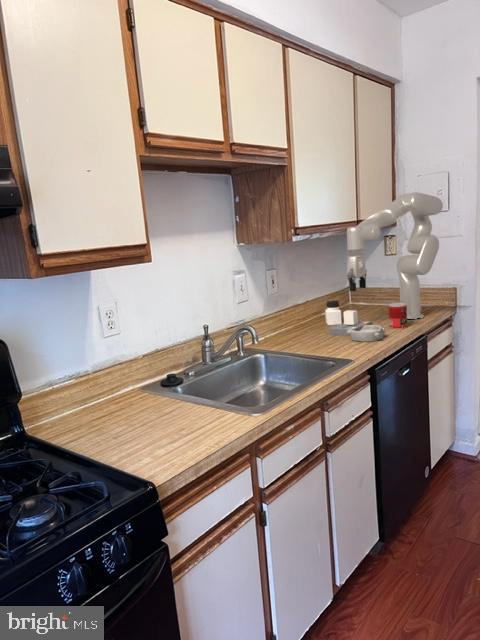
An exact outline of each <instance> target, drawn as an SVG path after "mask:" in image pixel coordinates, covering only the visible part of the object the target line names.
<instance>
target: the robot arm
mask: <svg viewBox="0 0 480 640" xmlns="http://www.w3.org/2000/svg"><path fill="white" fill-rule="evenodd" d="M443 204H444V203H443V201H442V200H441V199H440V198H439V197H438V196H435V195H431V194H428V193H427V194H426V193H422V192H410V193H409V192H408V193H404V194H402V195H399V196H398V197H396V199H394V200H393V201H392V202H391V203H389V204H388V205H386V206H385V208H383V209H381V210H379V211H378V212H376V213H374V214H372V215H370V216H368V217H367V218H365V219H363V220H362V221H361V222H359V224H358V225H356V226H349V227H348V228H347V229H346V240H347V241H346V242H347V263H346V264H347V266H346V267H347V269H346V270H347V274H346V277H347V280H348V287H349V292H357V282H356V280H357V279H358V278H359V279H358V285H359V286H358V287H359V289H366V288H367V283H366V282H367V280H366V279H367V272H368V271H367V270H368V269H366V260H365V256H366V255H365V242H373V241H376V240H378V239H379V238H380V237H381V235H382V231H381V229H382V228H385V227H388V226H391V225H393V224H395V223H396V222H398V221H399V220H400V219H401V218H402V217H403V216H405V215H406V214H407V213H409V212H410V214H411V216H412V217H413V222H414V226H413V229H412V232H411V234H410V237H409V239H408V241H407V242H408V243H407V245H406V249H407V252H408V253H410V254H408V255H407V254H406V255H402V256H401V257H400V258H398V260H397V262H396V269H397V274H398V280H399V281H398V282H399V283H398V284H399V300H400V301H399V303H406V305H407V319H415V320H418V319H417V318H421V319H423V318H424V317H425V315H424V314H423V313H421V311H422V307H421V293H420V292H421V291H420V290H421V289H420V287H421V286H420V285H421V283H420V279H419V277H418V276H425V275H427V274H429V272H431V269H432V267H433V265H434V263H435V260H436V257H437V255H438V251H439V249H440V241H439V239H438V237H437V236H436V235H434V234H431V233H432V230H433V223H432V221H431V219H430V216H437V215H439V214H441V212H442V210H443V208H444V207H443V206H444V205H443ZM422 317H423V318H422Z"/></svg>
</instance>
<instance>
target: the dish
mask: <svg viewBox="0 0 480 640" xmlns="http://www.w3.org/2000/svg"><path fill="white" fill-rule="evenodd" d="M385 332H386V330H385V328H384V327H382V326H381V325H378V324H377V325H376V324H373V325H364V326H363V328H362V329H361V330H360V331H354V330H353V328H351V329H350V330H348V331H347V334H348V335H350V336H349V337H350V339H351V340H352V341H355V342H377V341H380V340H382V339H383V337H384V334H385Z"/></svg>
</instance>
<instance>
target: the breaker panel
mask: <svg viewBox="0 0 480 640" xmlns="http://www.w3.org/2000/svg"><path fill="white" fill-rule="evenodd" d="M364 325H374V324H373V321H372V320H359V319H358V323H357V324H355V325H347V324H344V322H342V323H341V324H339V325H333V326H332V327H329V328H328V331H329V332H328V335H329V336H339V337H341V336H342V337H350V335H348V334H347V331H348V330H350V329H351V328H353V330H354V331H360V330H361V329H362V328H363V326H364Z"/></svg>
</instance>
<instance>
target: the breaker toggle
mask: <svg viewBox="0 0 480 640" xmlns="http://www.w3.org/2000/svg"><path fill="white" fill-rule="evenodd" d="M358 320H359V317H358V310H351V309H347V310H344V311H343V323H344V324H347V325H355V324H357V323H358Z"/></svg>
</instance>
